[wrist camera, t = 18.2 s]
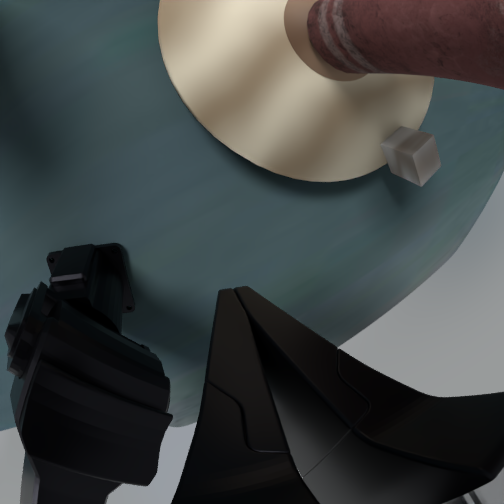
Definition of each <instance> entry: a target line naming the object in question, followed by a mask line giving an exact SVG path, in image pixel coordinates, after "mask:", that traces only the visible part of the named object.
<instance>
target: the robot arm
mask: <svg viewBox="0 0 504 504" xmlns="http://www.w3.org/2000/svg"><path fill="white" fill-rule="evenodd" d="M114 248H115V249H117V250H118V251H117V252H114V251H113V250H112V249H114ZM51 258H54V261H53V260H51ZM46 260H47V263H48V266H49V269H50V272H51V277H50V279H49V281H50V286H49V288H47V287H48V286H47V285H45V284H44V283H43V282H40V284H39V285H38V287H37V289H36V288H35V287H34V289H33V291H32V292H31V293H30V294H21V296H20V298H19V300H18V303H17V305H16V307H15V309H14V312H13V314H12V316H11V319H10V321H9V324H8V327H7V329H6V332H5V335H4V336H5V339H6V342H7V345H8V348H9V349H8V355H7V356H8V363H7V371H9V372H11V373H12V374H14V375H15V378H14V382H13V385H12V389H11V394H10V397H11V403H12V409H13V414H14V418H15V423H16V426H17V429H18V432H19V435H20V438H21V441H22V444H23V446H24V449H25V459H24V466H23V475H22V484H21V497H20V504H106V502H107V499H108V495H109V494H110V493H111V492H113V491H114V490H115V489H117V488H118V487H119V486H120V485H121V484H123V483H125V484H132V485H139V486H148V485H149V484H150V483H151V481H152V480H153V478H154V477H155V475H156V473H157V468H158V459H159V452H160V446H161V442H162V440H163V437H164V434H165V431H166V430H167V428H168V426H169V424H170V423H171V421H172V419H173V415H172V414H170V413H167V411H168V408H169V402H170V380H169V378H168V377H166V376H165V374H164V370H163V367H162V363H161V361H160V360H159V358H158V357H157V356H156V354H154V353H152V352H151V351H150V349H149V348H148V347H147V346H145V345H143V344H141V345H140V344H138V343H136V342H134V341H132V340H130V339H128V338H127V337H125V336H123V335H121V328H122V313H128V312H133V311H134V309H135V303H134V300H133V296H132V292H131V288H130V284H129V280H128V276H127V272H126V267H125V263H124V258H123V253H122V249H121V246H120V245H119V244H117V243H110V244H103V245H96V246H95V245H93V244H88V245H81V246H74V247H68V248H64V250H62V251H56V252H51V253H49V254H48V256H47V259H46ZM128 306H131V307H128ZM297 468H298V469H297ZM298 470H299V471H298ZM299 472H300V474H301V475H300V474H299ZM301 476H302V477H303V479H302V477H301ZM171 504H504V392H498V393H491V394H482V395H474V396H473V395H472V396H460V397H436V396H430V395H427V394H424V393H422V392H419V391H417V390H415V389H413V388H411V387H409V386H406V385H404V384H402V383H400V382H398V381H396V380H394V379H392V378H390V377H388V376H386V375H384V374H382V373H380V372H378V371H376V370H374V369H372V368H371V367H369V366H367V365H365V364H363V363H362V362H360V361H358V360H357V359H355V358H354V357H352V356H350V355H349V354H347V353H345V352H344V351H343V350H341V349H338V348H337V347H336V346H335V345H333V344H332V343H330V342H329V341H327V340H326V339H324V338H323V337H321V336H320V335H318V334H317V333H315V332H314V331H312V330H311V329H309V328H308V327H306V326H305V325H303V324H302V323H300V322H299V321H297V320H296V319H294V318H293V317H292V316H290V315H289V314H287V313H286V312H284V311H283V310H281V309H280V308H278V307H277V306H276V305H274V304H273V303H271V302H270V301H268V300H267V299H265V298H264V297H263V296H261V295H260V294H258V293H257V292H255V291H254V290H253V289H251V288H250V287H248V286H242V287H236V288H234V289H232V288H229V289H222V290H219V291H218V297H217V303H216V309H215V315H214V321H213V328H212V334H211V341H210V348H209V354H208V361H207V368H206V375H205V383H204V388H203V395H202V401H201V407H200V412H199V417H198V420H197V425H196V428H195V432H194V436H193V439H192V443H191V446H190V449H189V452H188V456H187V459H186V462H185V466H184V469H183V472H182V475H181V479H180V482H179V485H178V487H177V490H176V493H175V495H174V498H173V500H172V503H171Z"/></svg>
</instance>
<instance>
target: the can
mask: <svg viewBox="0 0 504 504" xmlns="http://www.w3.org/2000/svg"><path fill="white" fill-rule="evenodd" d="M307 29H308V35H309V39H310V41H311V43H312V45H313V47H314V49H315V50H316V51H317V52H318V54H319V55H320V56H321V57H322V58H323V59H324V61H326V62H327V63H328V64H330V65H331V66H333V67H334V68H335V69H337V70H340V71H343V72H345V73H353V74H406V75H420V76H431V77H440V78H448V79H454V80H461V81H467V82H472V83H477V84H482V85H487V86H491V87H495V88H499V89H503V90H504V0H318V1H317V2H315V3H314V4H313V6H312V7H311V9H310V10H309V12H308V19H307Z"/></svg>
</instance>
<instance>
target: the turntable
mask: <svg viewBox="0 0 504 504" xmlns="http://www.w3.org/2000/svg"><path fill="white" fill-rule="evenodd" d="M317 1H318V0H160V4H159V11H158V38H159V45H160V50H161V54H162V59H163V63H164V65H165V68H166V70H167V73H168V75H169V78H170V80H171V83H172V84H173V86H174V88H175V89H176V91H177V93H178V95H179V96H180V98H181V100H182V101H183V103H184V104H185V105H186V107H187V108H188V109H189V110H190V112H191V113H192V114H193V116H194V117H195V118H196V119H197V121H199V122H200V123H201V124H202V125H203V126H204V127H205V128H206V129H207V130H208V131H209V132H210V133H211V134H212V135H213V136H214V137H215V138H217V139H218V140H219V141H221V142H222V143H223V144H224V145H226V146H227V147H228V148H230V149H231V150H233V151H234V152H236V153H238V154H239V155H241V156H243V157H244V158H246V159H248V160H249V161H251V162H253V163H254V164H256V165H258V166H261V167H263V168H265V169H267V170H270V171H272V172H274V173H277V174H280V175H284V176H287V177H291V178H294V179H300V180H306V181H312V182H334V181H343V180H349V179H353V178H356V177H360V176H363V175H365V174H368V173H370V172H372V171H375V170H377V169H378V168H380V167H382V166H383V165H385V164H387V163H388V165H389V168H390V170H391V173H393V174H395V175H397V176H399V177H402V178H404V179H406V180H408V181H410V182H412V183H415V184H417V185H419V186H421V187H422V186H423V185H424V184H425V182H426V181H427V180H428V179H429V178H430V177H431V176H432V175H433V174H434V173H435V172H436V171H437V170H438V169H439V168H440V166H441V163H440V159H439V154H438V150H437V146H436V142H435V139H434V135H432V134H428V133H425V132H422V131H418V129H419V127H420V125H421V124H422V122H423V119H424V117H425V115H426V112H427V110H428V107H429V103H430V100H431V96H432V90H433V84H434V77H431V76H420V75H406V74H353V73H345V72H343V71H340V70H337V69H335V68H334V67H333V66H331V65H330V64H328V63H327V62H326V61H324V59H323V58H322V57H321V56H320V55H319V54H318V52H317V51H316V50H315V49H314V47H313V45H312V43H311V41H310V39H309V35H308V29H307V19H308V12H309V10H310V9H311V7H312V6H313V4H314V3H315V2H317Z"/></svg>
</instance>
